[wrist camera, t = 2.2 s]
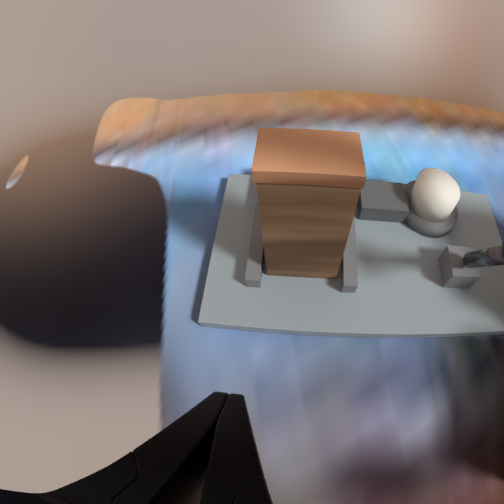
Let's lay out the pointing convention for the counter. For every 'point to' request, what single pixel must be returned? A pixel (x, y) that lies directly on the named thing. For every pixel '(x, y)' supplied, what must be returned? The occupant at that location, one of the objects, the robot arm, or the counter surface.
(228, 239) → the control board
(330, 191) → the brown tall rectangular block
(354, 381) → the counter surface
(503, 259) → the dark gray metallic lever
